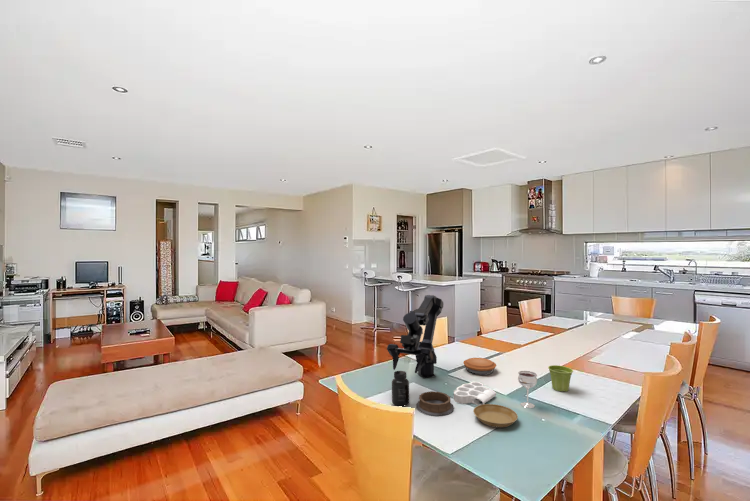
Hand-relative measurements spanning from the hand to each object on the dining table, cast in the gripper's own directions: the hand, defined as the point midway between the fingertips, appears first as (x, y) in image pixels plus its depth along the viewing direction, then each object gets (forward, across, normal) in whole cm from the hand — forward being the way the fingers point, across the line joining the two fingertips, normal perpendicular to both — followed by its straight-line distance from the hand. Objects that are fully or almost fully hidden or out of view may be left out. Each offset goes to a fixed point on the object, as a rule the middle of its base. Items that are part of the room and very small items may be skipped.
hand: (404, 371), depth 144 cm
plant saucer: (+10, +35, +6) cm, 37 cm away
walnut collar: (+9, +13, +6) cm, 17 cm away
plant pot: (-18, +56, +34) cm, 68 cm away
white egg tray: (-1, +24, +18) cm, 30 cm away
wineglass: (-2, +45, +18) cm, 48 cm away
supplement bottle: (+11, 0, +5) cm, 12 cm away
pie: (-24, +21, +40) cm, 51 cm away
